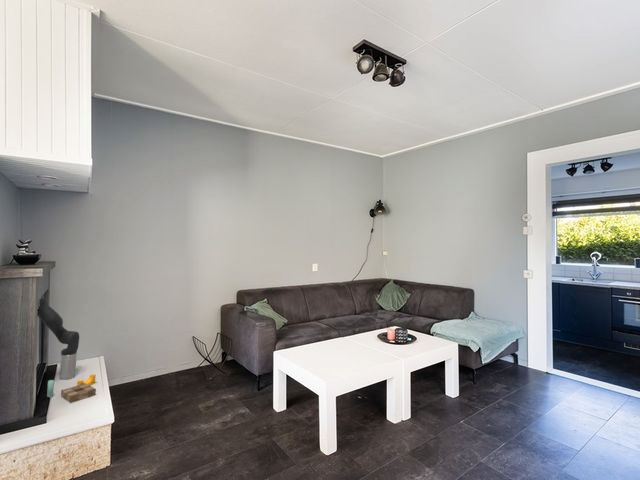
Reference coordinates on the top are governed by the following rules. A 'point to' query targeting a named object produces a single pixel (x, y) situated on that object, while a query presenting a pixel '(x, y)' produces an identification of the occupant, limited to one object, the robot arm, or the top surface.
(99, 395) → the top surface
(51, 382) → the teal peg
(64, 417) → the top surface
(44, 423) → the top surface
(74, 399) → the walnut socket block
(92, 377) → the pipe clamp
